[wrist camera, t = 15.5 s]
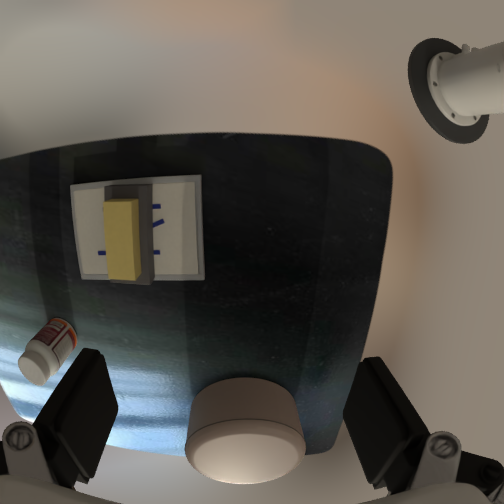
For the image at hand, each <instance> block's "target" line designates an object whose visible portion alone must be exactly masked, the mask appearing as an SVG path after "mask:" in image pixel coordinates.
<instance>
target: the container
mask: <svg viewBox="0 0 504 504" xmlns="http://www.w3.org/2000/svg"><path fill="white" fill-rule="evenodd" d="M305 450H306V442H305V440H304V436H303V432H302V428H301V424H300V420H299V416H298V411H297V407H296V403H295V400H294V399H293V397H292V395H291V394H290V393H289V392H288V391H287V390H286V389H284V388H283V387H281V386H280V385H278V384H275V383H273V382H270V381H267V380H263V379H258V378H244V377H243V378H232V379H226V380H222V381H219V382H216V383H213V384H211V385H209V386H207V387H206V388H204V389H203V390H202V391H200V392H199V393H198V394H197V395H196V397H195V398H194V400H193V402H192V405H191V411H190V418H189V425H188V432H187V439H186V444H185V454H186V457H187V459H188V461H189V463H190V464H191V465H192V466H193V468H195V469H196V470H197V471H198V472H200V473H201V474H203V475H205V476H207V477H209V478H211V479H214V480H218V481H222V482H226V483H234V484H253V483H260V482H266V481H270V480H273V479H276V478H279V477H281V476H283V475H285V474H287V473H289V472H290V471H292V470H293V469H294V468H295V467H297V466H298V465H299V463H300V462H301V461H302V459H303V457H304V455H305Z"/></svg>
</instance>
